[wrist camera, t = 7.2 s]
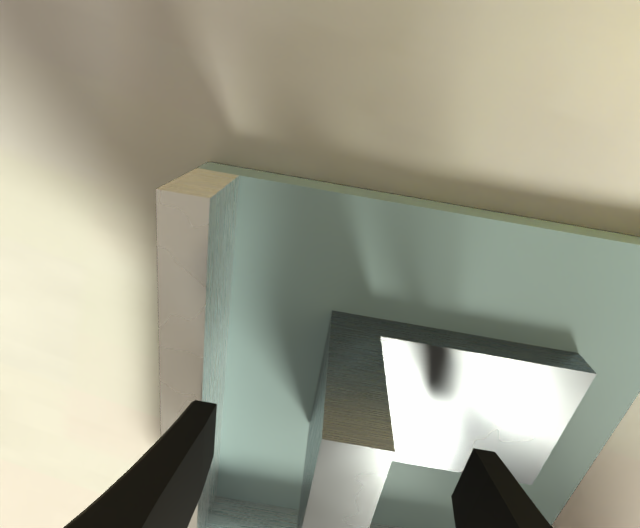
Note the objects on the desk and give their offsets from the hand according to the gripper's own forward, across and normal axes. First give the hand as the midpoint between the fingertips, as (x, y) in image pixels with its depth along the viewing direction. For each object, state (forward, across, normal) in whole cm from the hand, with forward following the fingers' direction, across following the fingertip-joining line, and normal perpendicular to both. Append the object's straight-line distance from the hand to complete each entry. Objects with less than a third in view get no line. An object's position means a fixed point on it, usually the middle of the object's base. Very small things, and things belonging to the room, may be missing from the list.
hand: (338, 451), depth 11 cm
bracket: (+3, -3, 0) cm, 4 cm away
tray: (+4, -2, +1) cm, 5 cm away
